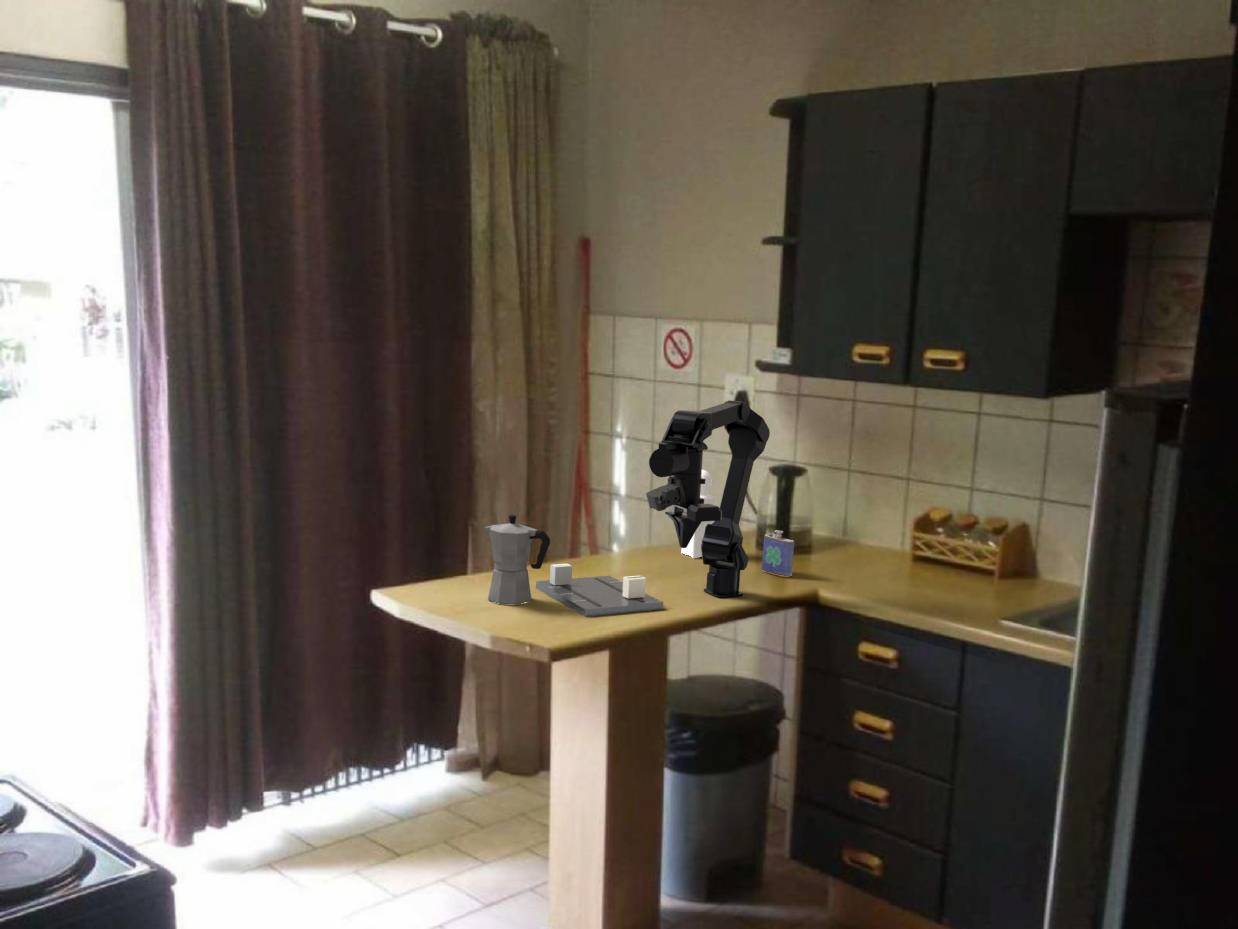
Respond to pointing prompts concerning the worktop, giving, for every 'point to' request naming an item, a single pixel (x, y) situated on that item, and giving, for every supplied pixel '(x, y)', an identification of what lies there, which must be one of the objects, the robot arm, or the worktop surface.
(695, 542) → the white square decanter
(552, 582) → the block white
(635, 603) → the panel
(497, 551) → the coffeepot
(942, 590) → the worktop surface
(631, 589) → the block
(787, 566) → the flask
